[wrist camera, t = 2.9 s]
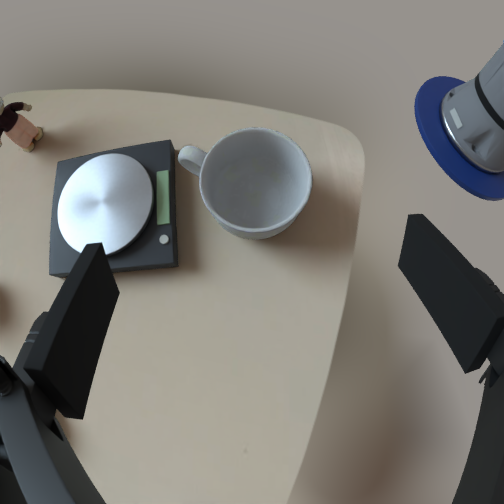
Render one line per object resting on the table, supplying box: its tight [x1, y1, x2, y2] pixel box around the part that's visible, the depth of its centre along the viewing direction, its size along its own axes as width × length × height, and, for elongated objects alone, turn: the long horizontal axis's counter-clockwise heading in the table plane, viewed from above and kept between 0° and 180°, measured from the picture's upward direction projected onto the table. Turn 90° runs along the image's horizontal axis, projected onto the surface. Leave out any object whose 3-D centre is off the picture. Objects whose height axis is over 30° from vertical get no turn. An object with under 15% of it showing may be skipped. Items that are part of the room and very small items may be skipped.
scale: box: [49, 140, 178, 278], centre depth 36 cm, size 16×15×3 cm
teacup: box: [178, 127, 313, 239], centre depth 34 cm, size 14×11×8 cm
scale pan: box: [58, 154, 154, 256], centre depth 34 cm, size 12×12×1 cm
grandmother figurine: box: [0, 97, 43, 152], centre depth 33 cm, size 8×4×13 cm, turn 157°
